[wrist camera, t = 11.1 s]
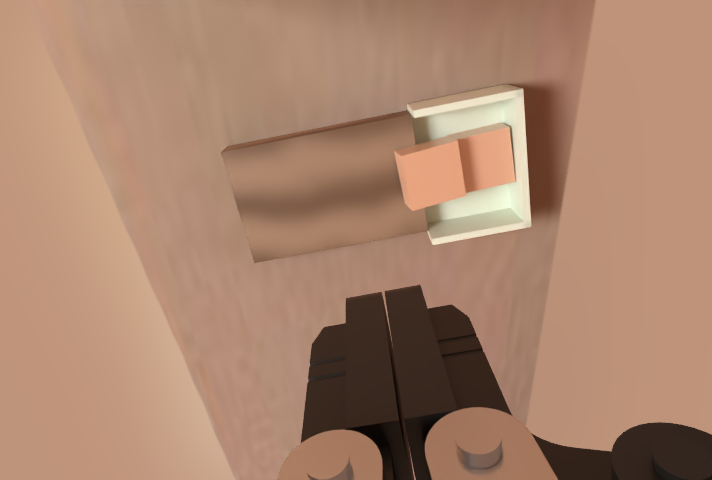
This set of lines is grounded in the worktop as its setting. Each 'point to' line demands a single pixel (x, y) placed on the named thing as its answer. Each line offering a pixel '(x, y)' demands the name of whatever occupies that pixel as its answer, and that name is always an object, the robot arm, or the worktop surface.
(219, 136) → the worktop surface
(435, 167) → the tile
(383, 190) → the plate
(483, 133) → the tile
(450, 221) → the tray
